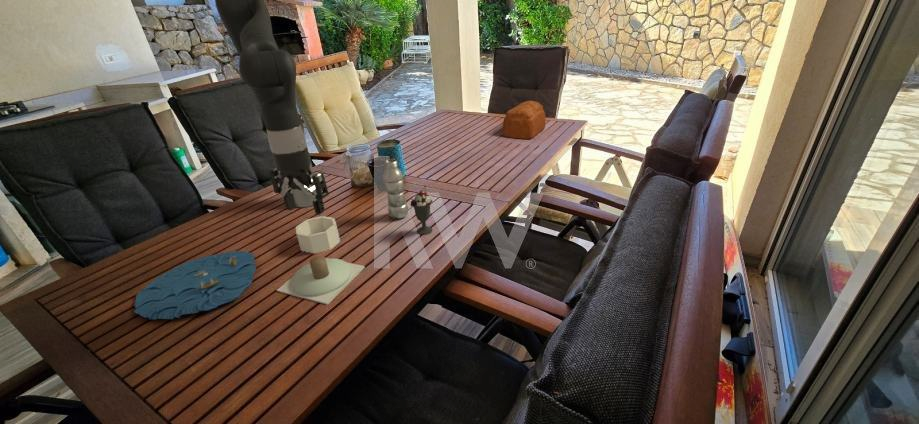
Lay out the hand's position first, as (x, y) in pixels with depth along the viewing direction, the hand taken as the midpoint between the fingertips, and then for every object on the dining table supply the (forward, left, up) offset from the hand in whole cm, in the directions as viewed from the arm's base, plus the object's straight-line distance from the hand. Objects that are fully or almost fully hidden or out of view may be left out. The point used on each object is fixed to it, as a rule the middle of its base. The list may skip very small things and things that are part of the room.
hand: (305, 211), depth 96 cm
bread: (+20, +141, -21) cm, 144 cm away
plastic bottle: (+2, +37, -21) cm, 42 cm away
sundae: (+15, +31, -21) cm, 40 cm away
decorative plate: (-30, -13, -21) cm, 38 cm away
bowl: (-13, +15, -20) cm, 28 cm away
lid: (0, 0, -20) cm, 20 cm away
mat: (0, 0, -20) cm, 20 cm away
